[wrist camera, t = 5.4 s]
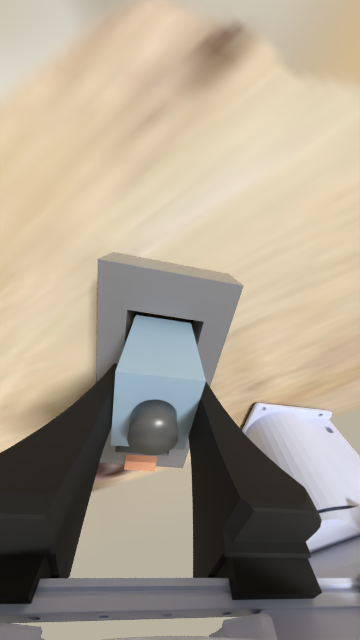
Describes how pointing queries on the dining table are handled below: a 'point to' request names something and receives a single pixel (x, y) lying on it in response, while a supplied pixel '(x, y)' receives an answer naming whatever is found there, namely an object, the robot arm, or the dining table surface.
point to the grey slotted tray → (163, 299)
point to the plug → (156, 386)
